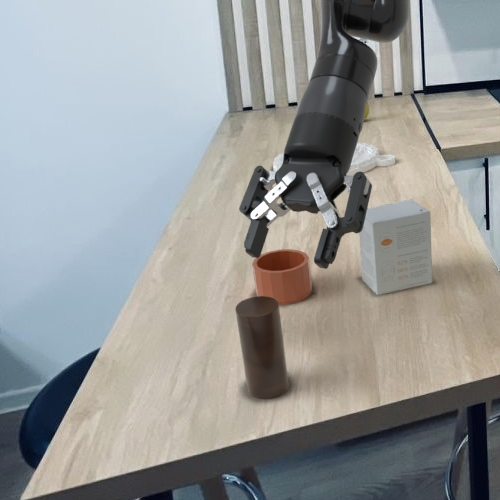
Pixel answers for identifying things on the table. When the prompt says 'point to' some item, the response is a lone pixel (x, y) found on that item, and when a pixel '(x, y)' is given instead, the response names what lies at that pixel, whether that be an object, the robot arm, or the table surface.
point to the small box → (396, 247)
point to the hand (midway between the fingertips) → (285, 260)
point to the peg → (262, 347)
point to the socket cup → (283, 275)
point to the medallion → (356, 159)
